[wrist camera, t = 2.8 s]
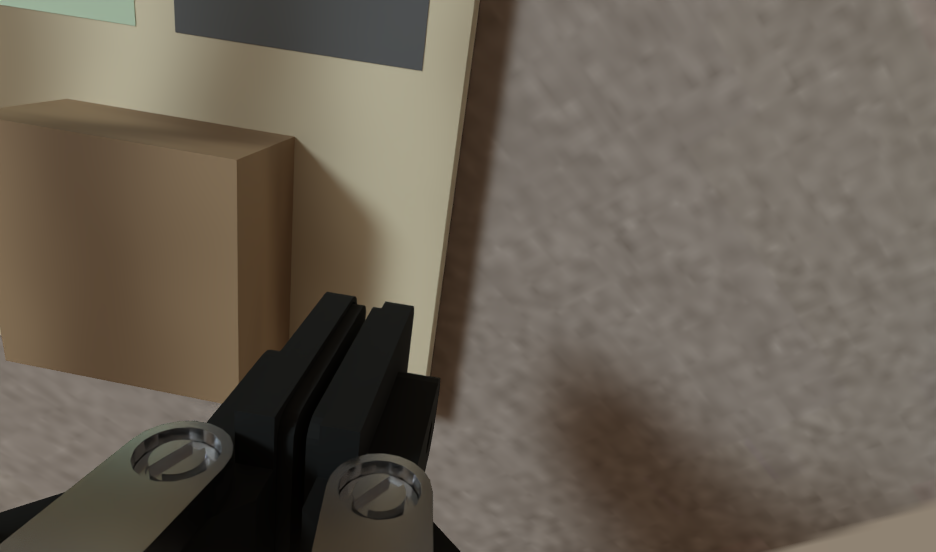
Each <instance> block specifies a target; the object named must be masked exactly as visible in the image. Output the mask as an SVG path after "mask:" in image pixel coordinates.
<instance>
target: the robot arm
mask: <svg viewBox="0 0 936 552" xmlns="http://www.w3.org/2000/svg"><path fill="white" fill-rule="evenodd" d="M365 319H366V320H365ZM413 319H414V306H411V305H405V304H399V303H393V302H387V301H385V303H384V304H383V306H382V308H377V307H373V308H372V309H371V311H370V313H369V315H368V316H367V318H366V306H365V305H359V304H357V298H356V296H350V295H344V294H338V293H332V292H326V293H325V294H324V295H323V297H322V298H321V299H320V300H319V302H318V303H317V304H316V306H315V307H314V308H313V309H312V311H311V312H310V313H309V315H308V316H307V317H306V319H305V320H304V321H303V322H302V324H301V325H300V326H299V328H298V329H297V330H296V332H295V333H294V334H293V335H292V337H291V338H290V339H289V341H288V342H287V343H286V344H285V346H284V347H283V348H282V350H281V351H277V350H267V351H266V352H265V353H263V355H262V356H261V357H260V358H259V359H258V361H257V362H256V363H255V364H254V366H253V367H252V368H251V369H250V370H249V372H248V373H247V374H246V375H245V376H244V378H243V379H242V380H241V381H240V383H239V384H238V385H237V386H236V387H235V389H234V390H233V391H232V392H231V394H230V395H229V396H228V397H227V398H226V400H225V401H224V402H223V403H222V405H221V406H220V407H219V408H218V409H217V411H216V412H215V413H214V414H213V416H212V417H211V418H210V419H209V420H208V422H207V423H204V422H198V421H178V422H173V423H167V424H162V425H159V426H157V427H154V428H151V429H149V430H146V431H144V432H143V433H141V434H139V435H138V436H136V437H135V438H133V439H132V440H130V441H129V442H128V443H126V444H125V445H124V446H123V447H121V448H120V449H119V450H118V451H116V452H115V453H114V454H113V455H111V456H110V457H109V458H108V459H106V460H105V461H104V462H103V463H101V464H100V465H99V466H98V467H96V468H95V469H94V470H93V471H91V472H90V473H89V474H87V475H86V476H85V477H84V478H82V479H81V480H80V481H79V482H77V483H76V484H75V485H74V486H72V487H71V488H70V489H69V490H67V491H66V492H64V493H61V494H58V495H54V496H51V497H48V498H45V499H42V500H39V501H35V502H32V503H29V504H26V505H23V506H20V507H16V508H13V509H10V510H7V511H4V512H1V513H0V552H460V551H459V549H458V548H457V547H456V546H455V545H454V544H453V543H452V542H451V541H450V540H449V539H448V538H447V536H446V535H445V534H444V533H443V532H442V531H441V530H440V529H439V528H438V527H437V526H436V524H435V523H434V522H433V491H432V486H431V482H430V479H429V478H428V476H427V475H426V474H425V469H426V465H427V460H428V456H429V451H430V446H431V440H432V435H433V429H434V423H435V417H436V410H437V403H438V396H439V388H440V378H437V377H431V376H425V375H419V374H413V373H407V371H408V362H409V353H410V345H411V336H412V328H413Z"/></svg>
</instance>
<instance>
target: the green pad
mask: <svg viewBox="0 0 936 552" xmlns="http://www.w3.org/2000/svg"><path fill="white" fill-rule="evenodd" d="M0 5H5V6H11V7H18V8H24V9H31V10H37V11H43V12H50V13H56V14H62V15H69V16H75V17H82V18H88V19H94V20H101V21H107V22H113V23H120V24H126V25H133V26H136V18H135V3H134V0H0Z"/></svg>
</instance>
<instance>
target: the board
mask: <svg viewBox="0 0 936 552" xmlns="http://www.w3.org/2000/svg"><path fill="white" fill-rule="evenodd" d="M134 3H135V18H136V26H133V25H126V24H120V23H113V22H107V21H101V20H94V19H88V18H82V17H75V16H69V15H62V14H56V13H50V12H43V11H37V10H31V9H24V8H18V7H11V6H5V5H0V108H2V107H10V106H17V105H24V104H32V103H39V102H46V101H54V100H61V99H72V100H78V101H84V102H90V103H96V104H102V105H108V106H114V107H120V108H126V109H132V110H138V111H144V112H150V113H156V114H162V115H168V116H174V117H180V118H186V119H192V120H198V121H204V122H210V123H216V124H222V125H228V126H234V127H240V128H246V129H252V130H258V131H264V132H270V133H276V134H282V135H288V136H294V137H295V148H294V184H293V220H292V256H291V292H290V328H289V339H290V338H291V337H292V335H293V334H294V333H295V332H296V330H297V329H298V328H299V326H300V325H301V324H302V322H303V321H304V320H305V319H306V317H307V316H308V315H309V313H310V312H311V311H312V309H313V308H314V307H315V306H316V304H317V303H318V302H319V300H320V299H321V298H322V297H323V295H324V294H325V293H326V292H332V293H338V294H344V295H350V296H356V298H357V304H359V305H365V306H366V318H367V316H368V315H369V313H370V311H371V309H372V308H373V307H377V308H382V306H383V304H384V303H385V301H387V302H393V303H399V304H405V305H411V306H414V319H413V328H412V336H411V345H410V353H409V362H408V371H407V373H413V374H419V375H425V376H430V373H431V365H432V357H433V350H434V342H435V335H436V327H437V320H438V312H439V305H440V297H441V290H442V282H443V275H444V267H445V260H446V252H447V245H448V237H449V230H450V222H451V215H452V207H453V200H454V192H455V185H456V177H457V170H458V162H459V154H460V147H461V139H462V132H463V124H464V117H465V109H466V102H467V94H468V87H469V79H470V72H471V64H472V57H473V49H474V42H475V34H476V27H477V19H478V12H479V4H480V0H134ZM365 320H366V319H365ZM0 335H1V330H0Z"/></svg>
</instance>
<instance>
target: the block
mask: <svg viewBox="0 0 936 552" xmlns="http://www.w3.org/2000/svg"><path fill="white" fill-rule="evenodd" d="M294 148H295V137H294V136H288V135H282V134H276V133H270V132H264V131H258V130H252V129H246V128H240V127H234V126H228V125H222V124H216V123H210V122H204V121H198V120H192V119H186V118H180V117H174V116H168V115H162V114H156V113H150V112H144V111H138V110H132V109H126V108H120V107H114V106H108V105H102V104H96V103H90V102H84V101H78V100H72V99H61V100H54V101H46V102H39V103H32V104H24V105H17V106H10V107H2V108H0V330H1V336H2V341H3V347H4V353H5V358H6V361H11V362H16V363H21V364H26V365H31V366H36V367H41V368H46V369H51V370H56V371H61V372H67V373H72V374H77V375H82V376H87V377H92V378H97V379H102V380H107V381H112V382H117V383H122V384H127V385H132V386H137V387H142V388H147V389H152V390H157V391H162V392H167V393H172V394H177V395H182V396H187V397H192V398H197V399H202V400H207V401H212V402H217V403H223V402H224V401H225V400H226V398H227V397H228V396H229V395H230V394H231V392H232V391H233V390H234V389H235V387H236V386H237V385H238V384H239V383H240V381H241V380H242V379H243V378H244V376H245V375H246V374H247V373H248V372H249V370H250V369H251V368H252V367H253V366H254V364H255V363H256V362H257V361H258V359H259V358H260V357H261V356H262V355H263V353H265V352H266V351H267V350H277V351H281V350H282V348H283V347H284V346H285V344H286V343H287V342H288V341H289V328H290V292H291V256H292V220H293V184H294Z"/></svg>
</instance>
